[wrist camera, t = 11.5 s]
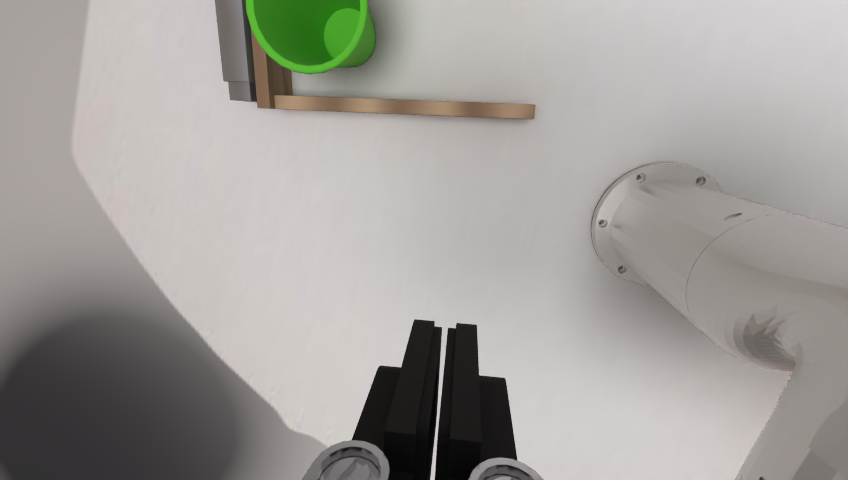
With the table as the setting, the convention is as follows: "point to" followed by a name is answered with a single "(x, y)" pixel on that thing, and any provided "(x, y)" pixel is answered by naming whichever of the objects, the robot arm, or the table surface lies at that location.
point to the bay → (272, 89)
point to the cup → (313, 32)
